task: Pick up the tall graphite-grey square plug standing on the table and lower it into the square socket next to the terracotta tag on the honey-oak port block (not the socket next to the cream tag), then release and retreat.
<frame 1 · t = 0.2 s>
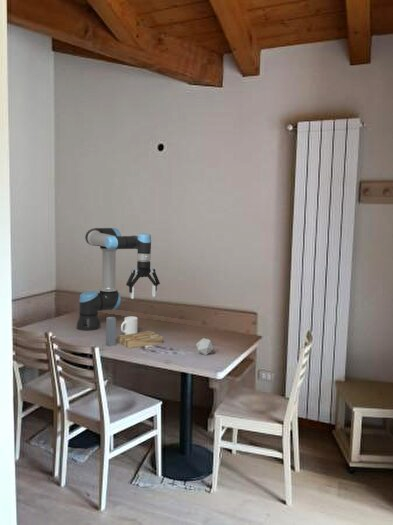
hand: (142, 297, 269), 28 cm above the table, fingers open, 13 cm apart
port block: (140, 342, 274), on the table
die: (204, 353, 258), on the table
mug: (128, 334, 291), on the table
plug: (110, 345, 268), on the table
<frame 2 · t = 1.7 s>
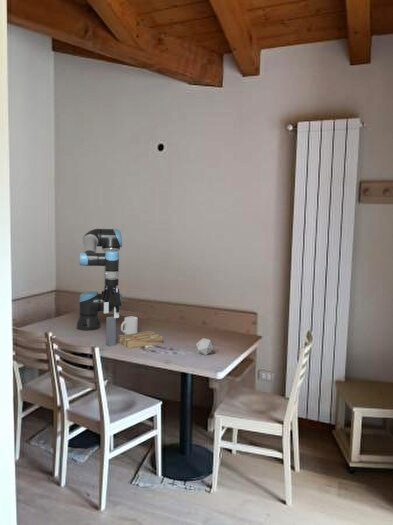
hand: (111, 315, 265), 17 cm above the table, fingers open, 13 cm apart
nothing on the table moved.
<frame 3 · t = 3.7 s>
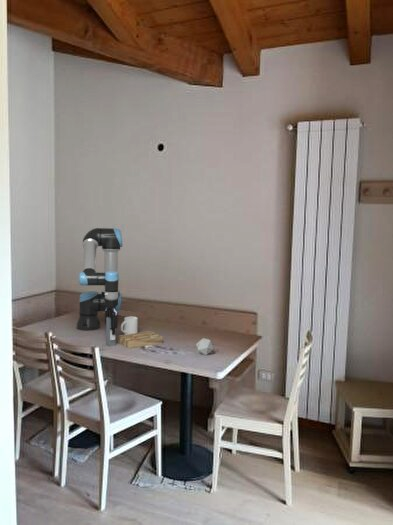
hand: (110, 338, 267), 4 cm above the table, fingers closed on plug, 4 cm apart
plug: (110, 344, 268), on the table, touching gripper
everything else where it was.
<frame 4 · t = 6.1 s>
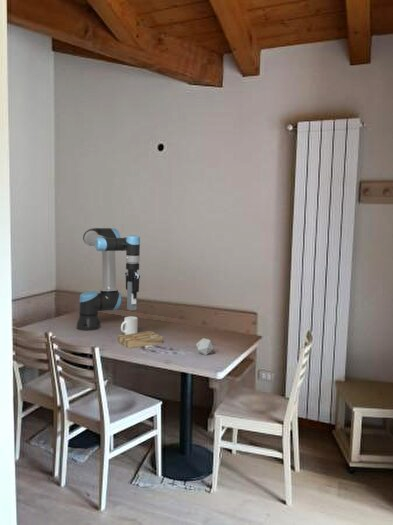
hand: (131, 303, 268), 24 cm above the table, fingers closed on plug, 4 cm apart
plug: (131, 309, 268), point 21 cm above the table, touching gripper
everything else where it was.
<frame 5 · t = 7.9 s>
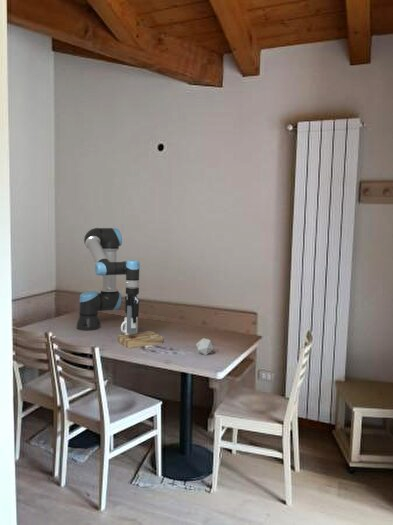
hand: (131, 327, 270), 10 cm above the table, fingers closed on plug, 4 cm apart
plug: (131, 333, 270), point 6 cm above the table, touching gripper
everything else where it was.
when the fingers open (6 cm above the table, at t = 8.9 s): plug drops 2 cm, resting in port block.
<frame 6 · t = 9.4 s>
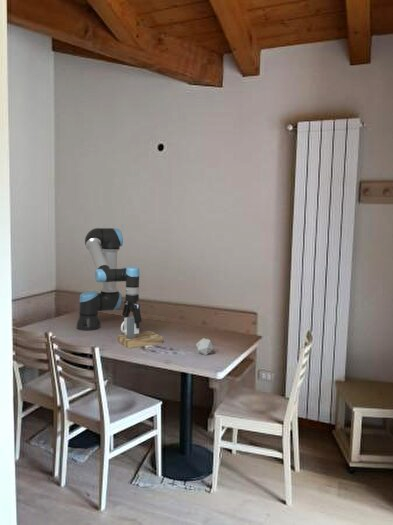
hand: (131, 330, 270), 8 cm above the table, fingers open, 12 cm apart
plug: (131, 344, 271), resting in port block
everything else where it was.
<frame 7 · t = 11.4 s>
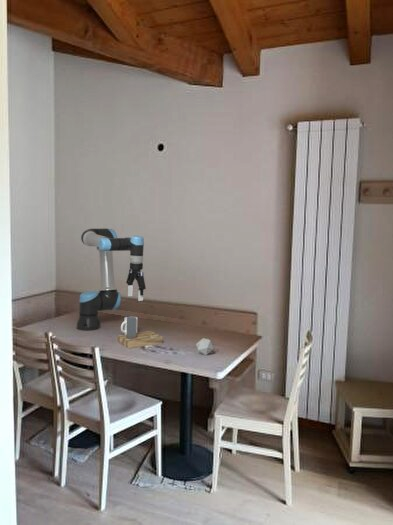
hand: (135, 298, 275), 26 cm above the table, fingers open, 13 cm apart
nothing on the table moved.
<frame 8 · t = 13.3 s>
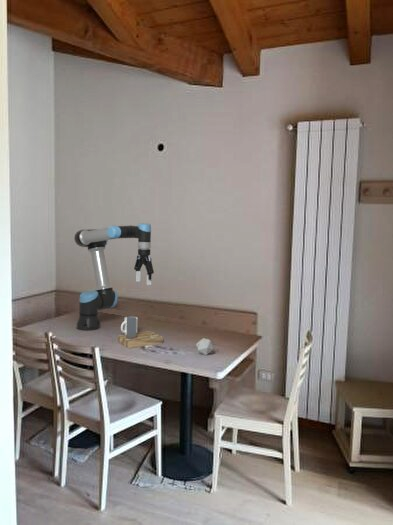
hand: (143, 283, 287), 33 cm above the table, fingers open, 13 cm apart
nothing on the table moved.
at the end: plug 0.1 cm from the target spot on the port block, point 0.0 cm above the port block's base; plug tilted 0°; the gripper is holding nothing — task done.
